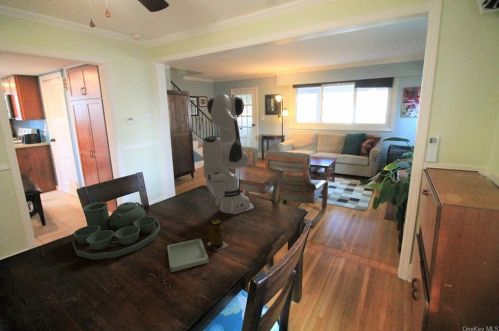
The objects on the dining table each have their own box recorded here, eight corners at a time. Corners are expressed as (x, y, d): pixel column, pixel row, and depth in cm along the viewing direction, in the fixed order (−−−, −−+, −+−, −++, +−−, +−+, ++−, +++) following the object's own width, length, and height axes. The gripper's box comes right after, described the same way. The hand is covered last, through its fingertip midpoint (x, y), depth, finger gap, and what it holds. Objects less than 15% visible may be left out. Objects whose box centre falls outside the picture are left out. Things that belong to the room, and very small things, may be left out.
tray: (200, 241, 119) (200, 238, 118) (209, 262, 102) (208, 258, 102) (167, 249, 113) (167, 245, 112) (170, 272, 96) (170, 268, 96)
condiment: (219, 238, 121) (218, 217, 118) (228, 245, 115) (227, 223, 112) (206, 243, 117) (205, 221, 114) (215, 251, 110) (214, 228, 107)
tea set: (58, 268, 101) (50, 233, 97) (91, 225, 138) (86, 199, 134) (157, 252, 111) (153, 220, 107) (163, 216, 148) (160, 191, 145)
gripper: (202, 168, 115) (203, 195, 118) (212, 179, 97) (213, 210, 100) (214, 167, 118) (216, 193, 121) (226, 177, 99) (227, 207, 102)
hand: (215, 201), depth 110 cm, fingers open, 8 cm apart
